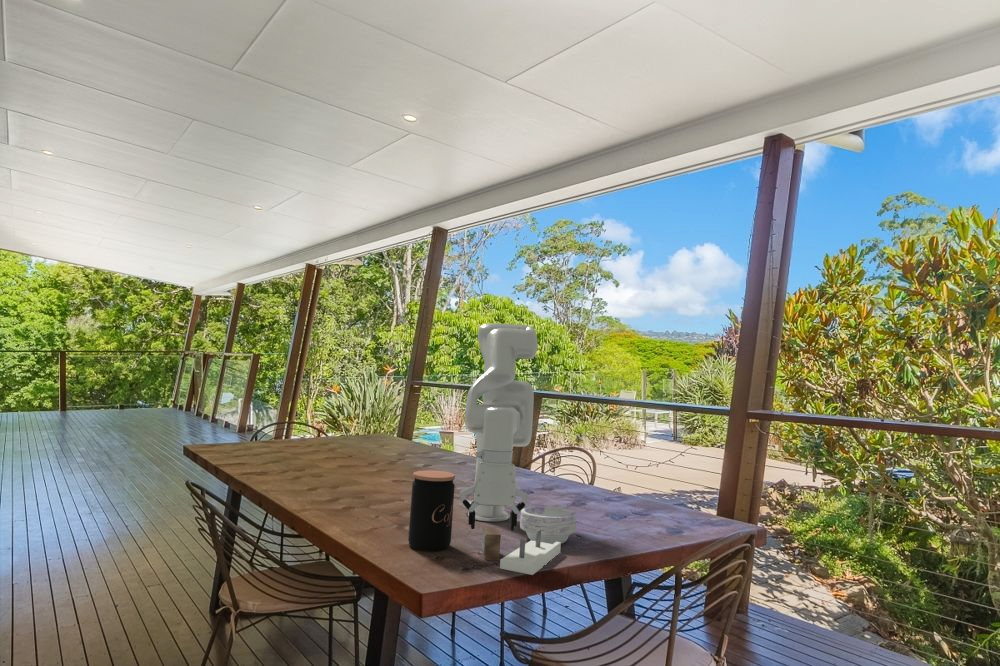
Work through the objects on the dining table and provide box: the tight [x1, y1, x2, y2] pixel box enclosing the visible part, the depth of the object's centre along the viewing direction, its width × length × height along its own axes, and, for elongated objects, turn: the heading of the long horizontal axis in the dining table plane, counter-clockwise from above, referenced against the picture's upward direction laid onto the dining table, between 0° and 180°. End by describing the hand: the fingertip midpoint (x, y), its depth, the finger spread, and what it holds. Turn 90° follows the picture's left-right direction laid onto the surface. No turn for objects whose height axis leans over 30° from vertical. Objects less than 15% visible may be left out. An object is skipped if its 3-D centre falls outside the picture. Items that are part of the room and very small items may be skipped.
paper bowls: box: [519, 505, 577, 545], centre depth 169 cm, size 15×15×8 cm
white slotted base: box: [499, 530, 562, 576], centre depth 149 cm, size 8×20×6 cm, turn 156°
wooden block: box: [481, 526, 502, 561], centre depth 152 cm, size 4×7×6 cm, turn 7°
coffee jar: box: [407, 469, 456, 552], centre depth 157 cm, size 11×11×18 cm
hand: (492, 528), depth 151 cm, fingers open, 9 cm apart
